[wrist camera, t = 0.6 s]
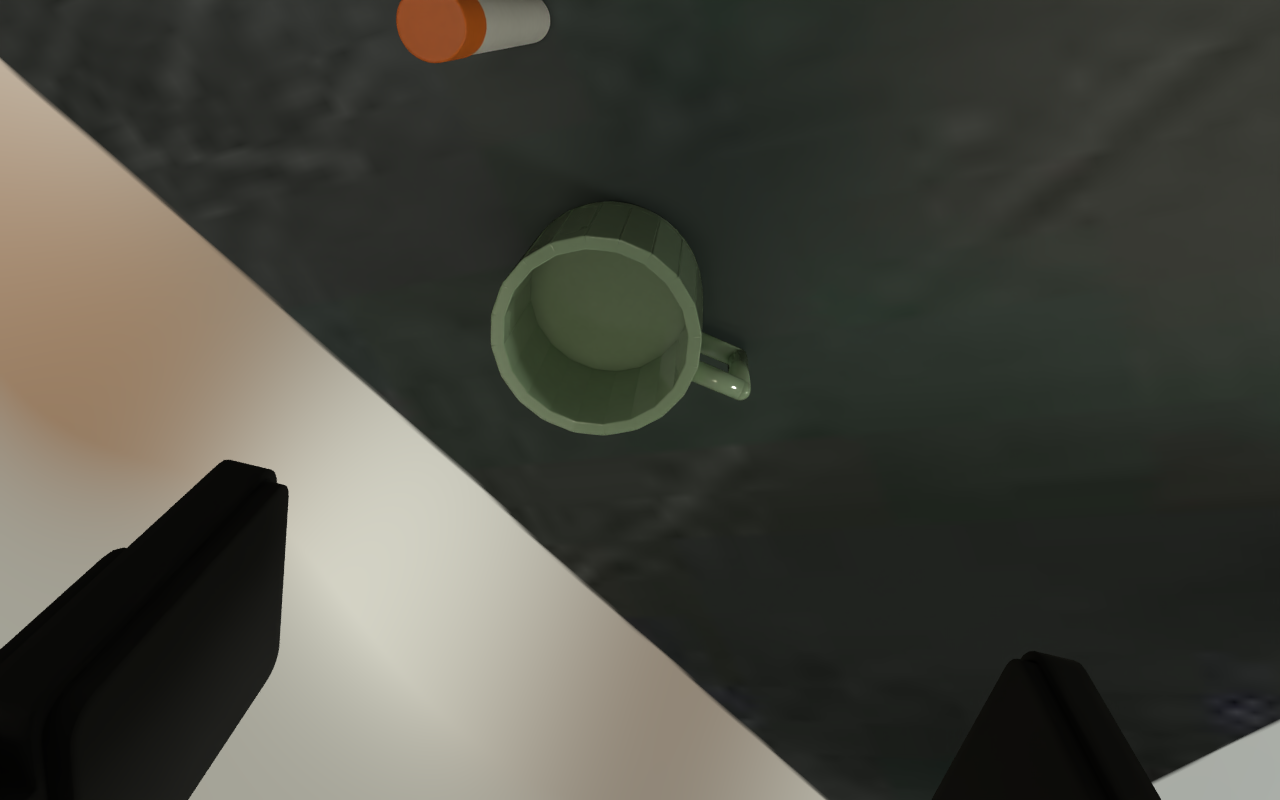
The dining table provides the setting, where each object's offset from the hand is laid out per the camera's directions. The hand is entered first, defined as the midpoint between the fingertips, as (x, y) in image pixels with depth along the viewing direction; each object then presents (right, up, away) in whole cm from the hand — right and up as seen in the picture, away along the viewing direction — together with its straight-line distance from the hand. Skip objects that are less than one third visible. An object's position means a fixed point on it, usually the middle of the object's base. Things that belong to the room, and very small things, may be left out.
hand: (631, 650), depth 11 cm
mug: (0, +8, +32) cm, 33 cm away
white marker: (-5, +20, +27) cm, 34 cm away
